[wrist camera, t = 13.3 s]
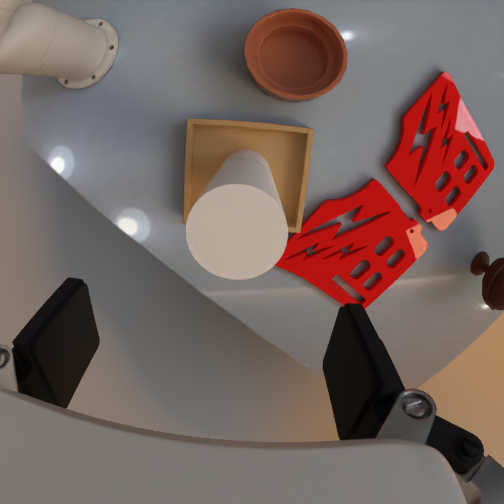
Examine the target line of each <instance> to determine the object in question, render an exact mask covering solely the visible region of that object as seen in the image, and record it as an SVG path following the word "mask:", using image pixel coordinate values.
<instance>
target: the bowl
mask: <svg viewBox="0 0 504 504" xmlns="http://www.w3.org/2000/svg"><path fill="white" fill-rule="evenodd" d="M347 55H348V54H347V50H346V46H345V43H344V40H343V38H342V36H341V35H340V33H339V32H338V30H337V29H336V28H335V26H333V25H332V24H331V23H330V22H329V21H327V20H326V19H325V18H324V17H322V16H320V15H317V14H315V13H313V12H311V11H308V10H301V9H294V8H291V9H283V10H276V11H274V12H272V13H270V14H267V15H265V16H263V17H262V18H261V19H260V20H259V21H258V22H256V23H255V24H254V25H253V26H252V28H251V30H250V32H249V34H248V36H247V38H246V41H245V50H244V56H245V62H246V66H247V70H248V74H249V76H250V77H251V79H252V80H253V82H254V83H255V85H256V86H257V87H258V88H259V89H261V90H262V91H263V92H264V93H265V94H267V95H268V96H271V97H273V98H275V99H278V100H280V101H287V102H302V101H308V100H311V99H314V98H317V97H319V96H321V95H323V94H325V93H327V92H329V91H331V90H332V89H333V88H334V87H335V86H336V85H337V84H338V83H339V82H340V80H341V79H342V77H343V74H344V72H345V70H346V67H347Z"/></svg>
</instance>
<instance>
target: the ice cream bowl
mask: <svg viewBox="0 0 504 504" xmlns="http://www.w3.org/2000/svg"><path fill="white" fill-rule="evenodd" d="M488 265H489V256H488V255H487V253H486V252H480V253H479V254H478V255H477V256H475V257H474V260H473V262H472V264H471V272H472V273H473V274H474V275H476V276H477V275H482V274H483V273H484V272H485V275H484V277H483V281H482V296H483V299H484V301H485V302H486V304H487V305H488V306H489V307H490V308H491V309H492V310H494V309H497V310H504V258H499V259H497V260H495V261H494V262H493V263H492V264H491V265H490V266H488Z"/></svg>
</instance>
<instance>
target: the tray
mask: <svg viewBox="0 0 504 504" xmlns="http://www.w3.org/2000/svg"><path fill="white" fill-rule="evenodd" d="M313 134H314V129H310V128H303V127H295V126H287V125H279V124H269V123H259V122H247V121H233V120H215V119H187V134H186V153H185V176H184V219H183V223H185V224H186V223H187V219H188V215H189V213H190V211H191V209H192V207H193V206H194V204H195V203H196V201H197V200H198V198H199V197H200V195H201V194H202V193H203V191H204V190H205V188H206V187H207V185H208V184H209V183H210V181H211V180H212V178H213V177H214V176H215V174H216V173H217V172H218V170H219V169H220V168H221V166H222V165H223V163H224V162H225V161H226V159H227V158H228V157H229V156H230V155H232V154H233V153H235V152H237V151H241V150H252V151H255V152H257V153H259V154H260V155H262V156H263V157H264V158H265V160H266V161H267V163H268V165H269V168H270V171H271V174H272V177H273V180H274V183H275V186H276V189H277V192H278V195H279V198H280V201H281V205H282V208H283V211H284V214H285V217H286V221H287V226H288V232H294V233H300V231H301V224H302V218H303V211H304V204H305V197H306V190H307V182H308V175H309V167H310V159H311V151H312V143H313Z"/></svg>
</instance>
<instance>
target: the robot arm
mask: <svg viewBox="0 0 504 504" xmlns="http://www.w3.org/2000/svg"><path fill="white" fill-rule="evenodd" d="M22 1H23V0H0V74H21V75H36V76H47V77H56V78H57V80H58V81H59V82H60V83H61V84H62V85H63V86H65V87H67V88H72V89H81V88H86V87H89V86H91V85H93V84H94V83H96V82H97V81H99V80H100V79H101V78H102V77H103V76H104V75H105V74H106V73H107V72H108V70H109V69H110V67H111V66H112V64H113V62H114V60H115V57H116V54H117V50H118V37H117V33H116V31H115V29H114V28H113V27H112V25H110V24H109V23H107V22H106V21H104V20H100V19H89V20H85V21H82V20H79V19H77V18H75V17H73V16H70V15H68V14H66V13H63V12H61V11H59V10H56V9H54V8H51V7H49V6H46V5H44V4H40V3H25V4H21V2H22ZM20 4H21V5H20ZM113 47H114V48H113ZM112 48H113V49H112ZM99 342H100V340H99V335H98V331H97V327H96V323H95V319H94V314H93V310H92V305H91V301H90V296H89V291H88V286H87V284H85V283H84V281H83V280H82V279H77V278H67V279H66V280H65V281H64V282H63V283H62V285H61V286H60V287H59V288H58V289H57V290H56V291H55V292H54V293H53V295H52V296H51V297H50V298H49V299H48V300H47V301H46V302H45V303H44V304H43V306H42V307H41V308H40V309H39V310H38V311H37V313H36V314H35V315H34V316H33V317H32V319H31V320H30V321H29V322H28V323H27V324H26V326H25V327H24V328H23V329H22V330H21V332H20V333H19V334H18V335H17V337H16V338H15V339H14V341H13V342H12V343H13V345H14V348H13V349H12V350H11V349H10V348H9V347H8V346H6V345H0V504H504V468H503V467H502V466H501V465H500V464H499V463H497V462H496V461H495V460H494V459H493V458H492V457H491V456H489V455H488V456H487V457H485V456H484V455H483V454H484V449H483V445H482V442H481V441H480V439H479V438H478V437H477V436H475V435H474V434H472V433H470V432H468V431H466V430H464V429H462V428H460V427H458V426H456V425H454V424H452V423H450V422H448V421H446V420H444V419H442V418H440V417H438V416H437V415H436V410H437V408H436V404H435V402H434V400H433V398H432V397H431V396H430V395H428V394H427V393H425V392H424V391H421V390H418V389H407V390H405V388H404V386H403V383H402V381H401V379H400V377H399V375H398V373H397V371H396V368H395V366H394V364H393V362H392V360H391V358H390V356H389V354H388V352H387V350H386V348H385V346H384V344H383V342H382V340H381V339H379V337H378V335H377V333H376V331H375V329H374V327H373V325H372V323H371V321H370V319H369V317H368V315H367V313H366V311H365V309H364V307H363V305H362V304H360V303H346V304H345V305H344V307H340V309H339V311H338V315H337V318H336V322H335V325H334V328H333V331H332V335H331V338H330V341H329V344H328V347H327V350H326V353H325V356H324V359H323V371H324V376H325V380H326V384H327V388H328V392H329V396H330V401H331V405H332V409H333V413H334V418H335V423H336V427H337V432H338V436H339V439H340V441H323V442H251V441H233V440H221V439H210V438H200V437H192V436H184V435H177V434H171V433H164V432H159V431H153V430H147V429H142V428H137V427H133V426H128V425H123V424H119V423H115V422H111V421H107V420H103V419H99V418H95V417H92V416H88V415H84V414H81V413H78V412H74V411H71V410H68V409H66V408H67V407H68V405H69V403H70V400H71V399H72V397H73V395H74V393H75V390H76V388H77V387H78V385H79V383H80V381H81V379H82V377H83V375H84V373H85V371H86V369H87V367H88V365H89V363H90V361H91V360H92V358H93V356H94V354H95V352H96V350H97V349H98V346H99Z"/></svg>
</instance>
